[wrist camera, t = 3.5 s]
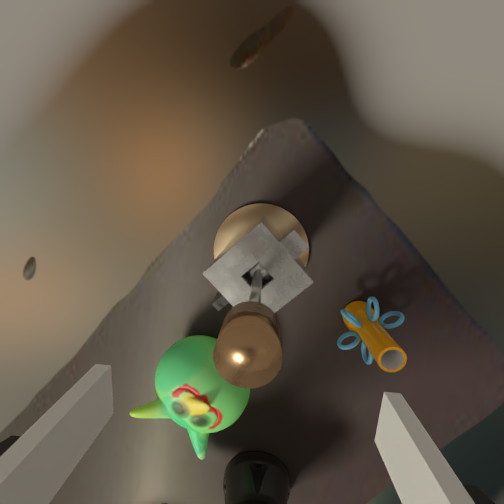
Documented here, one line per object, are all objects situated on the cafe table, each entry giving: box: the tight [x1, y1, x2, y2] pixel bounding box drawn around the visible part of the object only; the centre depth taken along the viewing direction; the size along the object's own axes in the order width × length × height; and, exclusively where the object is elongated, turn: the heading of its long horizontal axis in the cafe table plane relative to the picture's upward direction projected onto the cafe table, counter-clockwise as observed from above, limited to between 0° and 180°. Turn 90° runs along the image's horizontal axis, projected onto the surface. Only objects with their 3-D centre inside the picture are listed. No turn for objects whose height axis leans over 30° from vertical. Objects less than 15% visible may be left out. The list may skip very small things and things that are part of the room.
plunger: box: [213, 262, 282, 388], centre depth 26 cm, size 7×7×20 cm
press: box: [203, 214, 313, 313], centre depth 42 cm, size 10×16×17 cm, turn 131°
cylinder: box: [337, 296, 407, 372], centre depth 45 cm, size 12×10×15 cm
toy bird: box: [130, 335, 250, 460], centre depth 49 cm, size 18×17×15 cm
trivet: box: [214, 203, 309, 267], centre depth 50 cm, size 18×18×1 cm
